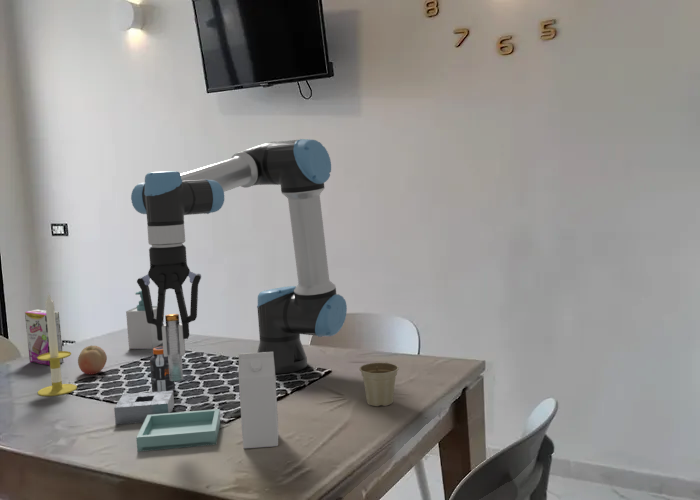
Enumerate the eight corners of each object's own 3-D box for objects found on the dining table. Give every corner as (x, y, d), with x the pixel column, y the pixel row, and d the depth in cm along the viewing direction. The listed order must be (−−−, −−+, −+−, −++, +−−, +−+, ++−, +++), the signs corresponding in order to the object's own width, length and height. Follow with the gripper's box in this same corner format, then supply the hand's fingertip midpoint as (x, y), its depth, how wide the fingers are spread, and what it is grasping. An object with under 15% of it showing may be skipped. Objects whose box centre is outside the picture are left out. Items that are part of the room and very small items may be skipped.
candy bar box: (28, 362, 223) (23, 311, 221) (42, 358, 227) (38, 308, 225) (50, 366, 217) (45, 314, 215) (64, 362, 221) (59, 311, 219)
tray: (220, 421, 160) (219, 409, 160) (216, 444, 146) (215, 430, 146) (148, 427, 158) (147, 414, 158) (137, 451, 145) (136, 437, 144)
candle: (85, 386, 193) (76, 289, 190) (56, 397, 184) (47, 296, 181) (58, 383, 197) (50, 288, 194) (29, 394, 188) (19, 295, 185)
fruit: (72, 376, 204) (70, 349, 204) (92, 368, 212) (90, 342, 211) (94, 378, 201) (92, 350, 201) (113, 370, 209) (111, 344, 208)
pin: (183, 377, 152) (179, 313, 151) (182, 380, 150) (177, 316, 148) (170, 378, 152) (166, 314, 151) (168, 381, 149) (164, 316, 148)
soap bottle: (128, 349, 235) (124, 292, 233) (140, 342, 243) (136, 288, 241) (152, 349, 233) (148, 292, 231) (163, 342, 242) (159, 288, 240)
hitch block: (174, 406, 173) (173, 390, 172) (168, 420, 163) (167, 403, 162) (124, 410, 171) (122, 394, 171) (115, 424, 161) (114, 407, 161)
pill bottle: (168, 392, 184) (165, 350, 183) (147, 392, 185) (144, 350, 184) (178, 386, 190) (175, 345, 189) (158, 385, 191) (155, 344, 190)
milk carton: (245, 436, 150) (239, 349, 148) (278, 434, 151) (273, 347, 149) (243, 449, 143) (237, 358, 141) (278, 446, 144) (272, 356, 142)
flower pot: (404, 397, 172) (403, 363, 171) (394, 410, 163) (392, 374, 162) (367, 395, 175) (366, 361, 174) (355, 407, 166) (354, 372, 165)
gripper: (206, 241, 153) (213, 347, 155) (131, 245, 151) (139, 352, 153) (203, 244, 145) (210, 356, 148) (125, 248, 143) (133, 361, 146)
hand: (174, 354), depth 150 cm, fingers closed on pin, 3 cm apart
